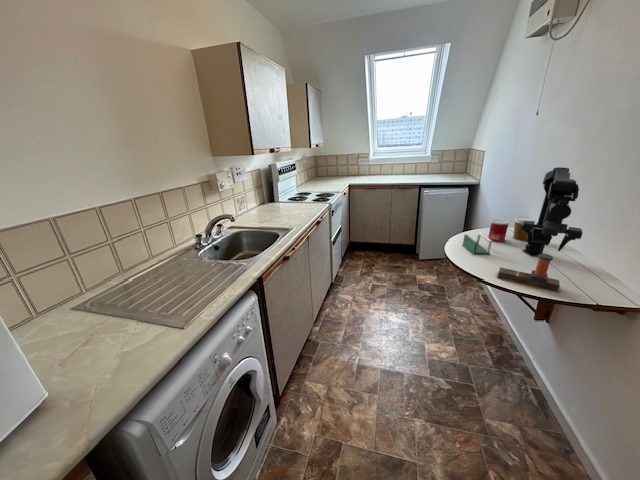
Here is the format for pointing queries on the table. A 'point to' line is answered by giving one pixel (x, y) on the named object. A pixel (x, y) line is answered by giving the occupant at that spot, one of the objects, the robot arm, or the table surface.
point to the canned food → (498, 230)
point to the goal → (476, 244)
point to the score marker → (541, 268)
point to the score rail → (528, 279)
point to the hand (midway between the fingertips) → (544, 248)
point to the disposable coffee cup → (518, 232)
